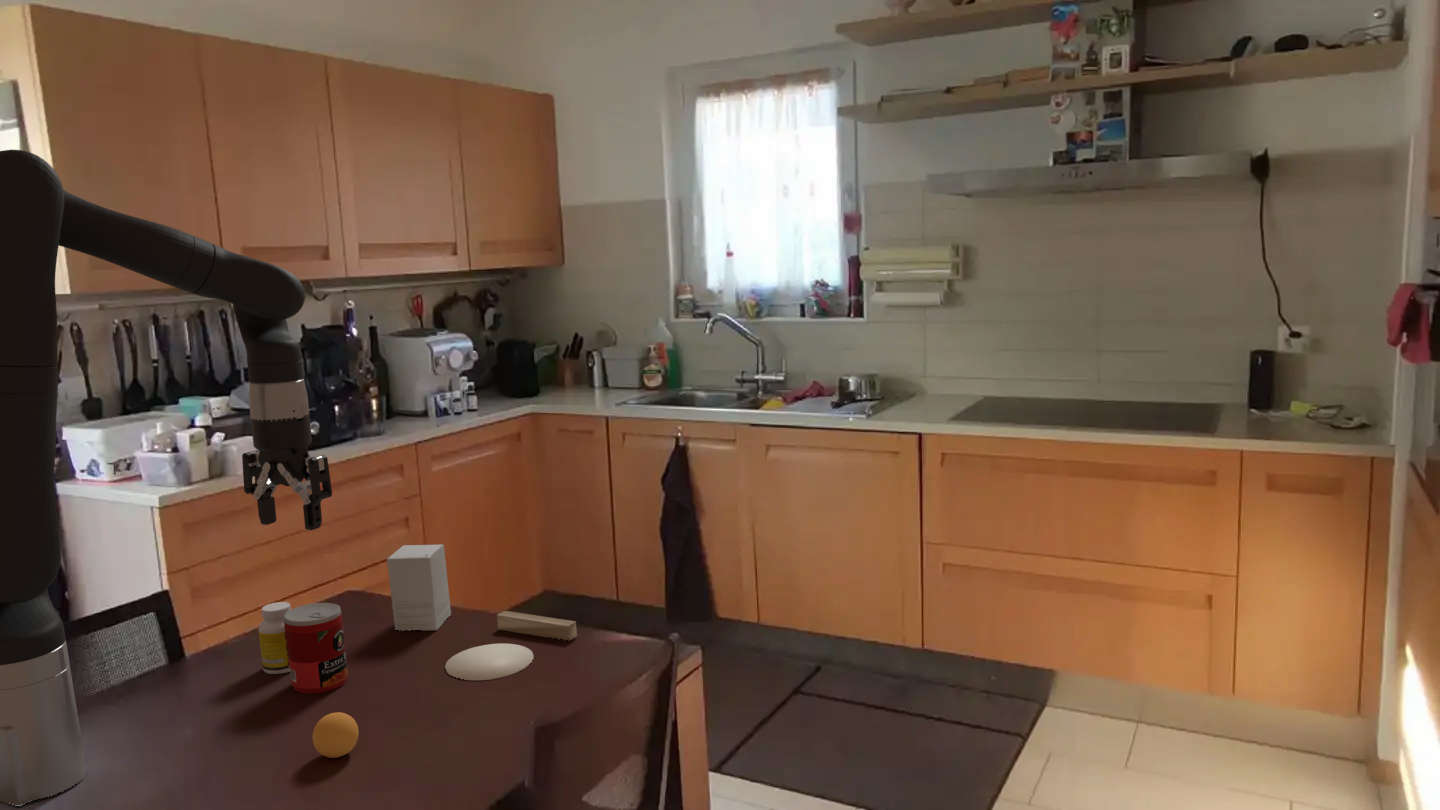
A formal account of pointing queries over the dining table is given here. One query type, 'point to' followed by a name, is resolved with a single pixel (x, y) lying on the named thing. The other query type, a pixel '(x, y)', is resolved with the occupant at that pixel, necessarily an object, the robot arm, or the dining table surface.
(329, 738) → the ball
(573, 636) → the stopper wall
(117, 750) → the dining table surface
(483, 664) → the disc
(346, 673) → the canned food
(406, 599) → the supplement box
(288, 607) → the supplement bottle
